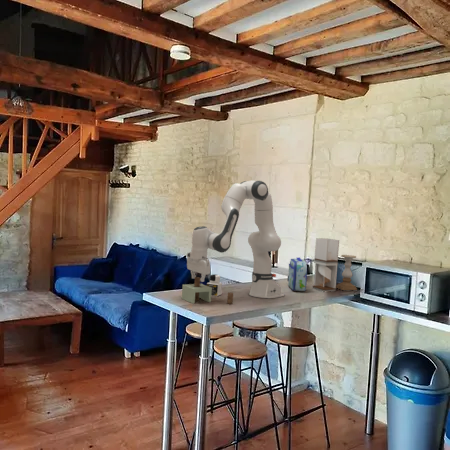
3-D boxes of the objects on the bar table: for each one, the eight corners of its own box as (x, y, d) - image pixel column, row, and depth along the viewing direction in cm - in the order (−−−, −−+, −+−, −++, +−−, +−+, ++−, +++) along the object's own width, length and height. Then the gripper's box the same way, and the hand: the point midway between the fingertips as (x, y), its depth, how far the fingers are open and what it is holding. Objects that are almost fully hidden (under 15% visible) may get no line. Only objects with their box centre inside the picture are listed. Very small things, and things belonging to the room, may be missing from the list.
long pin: (197, 299, 252) (198, 276, 251) (199, 300, 249) (201, 277, 249) (192, 299, 250) (193, 277, 250) (195, 301, 248) (196, 278, 247)
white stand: (312, 288, 308) (316, 238, 306) (323, 287, 314) (327, 238, 312) (323, 291, 298) (327, 240, 296) (335, 291, 304) (339, 240, 302)
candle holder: (357, 291, 309) (359, 257, 307) (342, 291, 306) (345, 256, 305) (349, 288, 319) (351, 254, 318) (335, 287, 317) (337, 254, 315)
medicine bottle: (206, 294, 266) (207, 274, 266) (210, 292, 273) (212, 273, 272) (217, 296, 264) (218, 276, 263) (221, 294, 270) (222, 274, 270)
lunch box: (286, 285, 316) (288, 255, 315) (301, 286, 315) (303, 256, 314) (290, 292, 290) (292, 260, 289) (307, 293, 289) (309, 261, 288)
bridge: (200, 297, 258) (200, 283, 258) (210, 301, 248) (211, 287, 248) (181, 298, 252) (182, 284, 251) (192, 303, 242) (193, 288, 241)
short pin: (230, 302, 249) (231, 292, 249) (233, 304, 246) (234, 293, 246) (226, 303, 247) (226, 292, 247) (229, 304, 245) (229, 293, 244)
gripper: (213, 257, 242) (212, 283, 243) (195, 253, 259) (193, 276, 259) (203, 258, 238) (202, 283, 239) (185, 253, 255) (184, 277, 256)
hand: (197, 280), depth 249 cm, fingers open, 8 cm apart
